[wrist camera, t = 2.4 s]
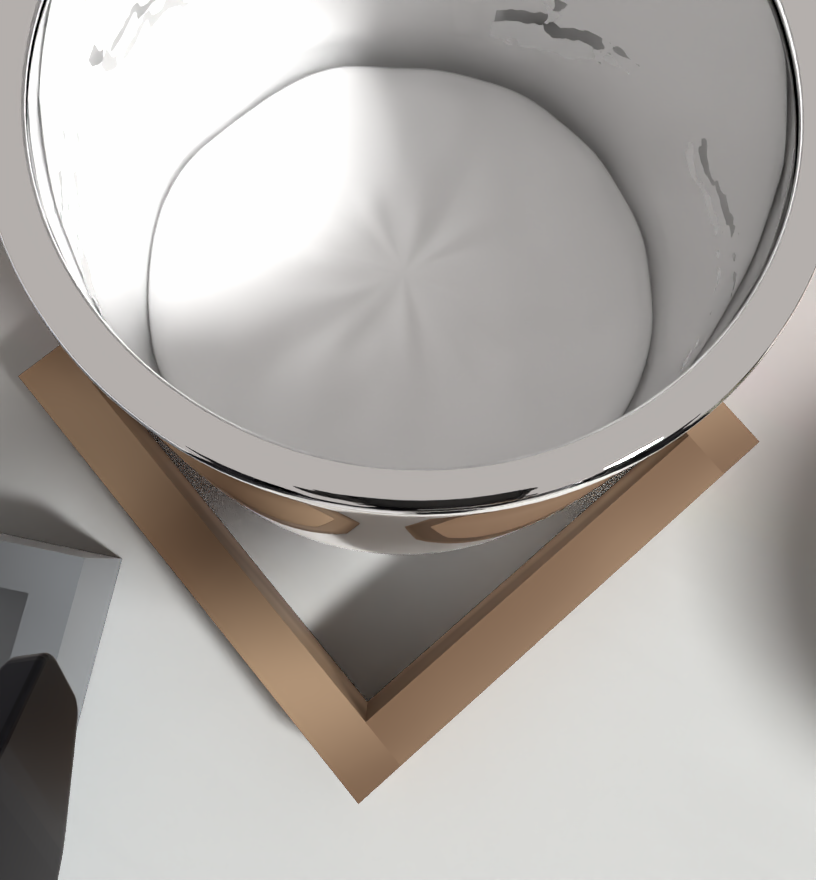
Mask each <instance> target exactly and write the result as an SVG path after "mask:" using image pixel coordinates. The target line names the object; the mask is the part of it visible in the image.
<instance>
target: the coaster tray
mask: <svg viewBox="0 0 816 880" xmlns="http://www.w3.org/2000/svg"><path fill="white" fill-rule="evenodd" d="M121 560H122V559H121V558H116V557H111V556H106V555H102V554H97V553H92V552H87V551H83V550H78V549H73V548H68V547H64V546H59V545H54V544H49V543H44V542H40V541H35V540H30V539H25V538H21V537H16V536H11V535H6V534H2V533H0V668H1V666H2V665H3V664H4V663H5V662H7V661H8V660H10V659H11V658H13V657H16V656H22V655H29V654H37V653H49V654H51V655H52V656H54V658H55V659H56V661H57V662H58V664H59V666H60V668H61V670H62V672H63V674H64V676H65V677H66V679H67V681H68V683H69V685H70V687H71V689H72V690H73V692H74V695H75V697H76V701H77V706H78V720H77V725H78V721H79V717H80V713H81V710H82V706H83V702H84V698H85V695H86V691H87V687H88V683H89V680H90V676H91V672H92V668H93V665H94V661H95V657H96V654H97V650H98V646H99V642H100V639H101V635H102V631H103V627H104V624H105V620H106V616H107V612H108V609H109V605H110V601H111V597H112V594H113V590H114V586H115V582H116V579H117V575H118V571H119V567H120V564H121Z"/></svg>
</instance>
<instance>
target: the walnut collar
mask: <svg viewBox="0 0 816 880" xmlns="http://www.w3.org/2000/svg"><path fill="white" fill-rule="evenodd" d="M18 377H19V378H20V379H21V380H22V382H23V383H24V384H25V385H26V387H27V388H28V389H29V390H30V392H31V393H32V394H33V395H34V397H35V398H36V399H37V400H38V402H39V403H40V404H41V405H42V407H43V408H44V409H45V411H46V412H47V413H48V414H49V416H50V417H51V418H52V419H53V421H54V422H55V423H56V424H57V426H58V427H59V428H60V429H61V431H62V432H63V433H64V434H65V436H66V437H67V438H68V439H69V441H70V442H71V443H72V444H73V446H74V447H75V448H76V449H77V451H78V452H79V453H80V455H81V456H82V457H83V458H84V460H85V461H86V462H87V463H88V465H89V466H90V467H91V468H92V470H93V471H94V472H95V473H96V475H97V476H98V477H99V478H100V480H101V481H102V482H103V483H104V485H105V486H106V487H107V488H108V490H109V491H110V492H111V493H112V495H113V496H114V497H115V499H116V500H117V501H118V502H119V504H120V505H121V506H122V507H123V509H124V510H125V511H126V512H127V514H128V515H129V516H130V517H131V519H132V520H133V521H134V522H135V524H136V525H137V526H138V527H139V529H140V530H141V531H142V532H143V534H144V535H145V536H146V537H147V539H148V540H149V541H150V543H151V544H152V545H153V546H154V548H155V549H156V550H157V551H158V553H159V554H160V555H161V556H162V558H163V559H164V560H165V561H166V563H167V564H168V565H169V566H170V568H171V569H172V570H173V571H174V573H175V574H176V575H177V576H178V578H179V579H180V580H181V581H182V583H183V584H184V585H185V587H186V588H187V589H188V590H189V592H190V593H191V594H192V595H193V597H194V598H195V599H196V600H197V602H198V603H199V604H200V605H201V607H202V608H203V609H204V610H205V612H206V613H207V614H208V615H209V617H210V618H211V619H212V620H213V622H214V623H215V624H216V625H217V627H218V628H219V629H220V631H221V632H222V633H223V634H224V636H225V637H226V638H227V639H228V641H229V642H230V643H231V644H232V646H233V647H234V648H235V649H236V651H237V652H238V653H239V654H240V656H241V657H242V658H243V659H244V661H245V662H246V663H247V664H248V666H249V667H250V668H251V670H252V671H253V672H254V673H255V675H256V676H257V677H258V678H259V680H260V681H261V682H262V683H263V685H264V686H265V687H266V688H267V690H268V691H269V692H270V693H271V695H272V696H273V697H274V698H275V700H276V701H277V702H278V703H279V705H280V706H281V707H282V708H283V710H284V711H285V712H286V714H287V715H288V716H289V717H290V719H291V720H292V721H293V722H294V724H295V725H296V726H297V727H298V729H299V730H300V731H301V732H302V734H303V735H304V736H305V737H306V739H307V740H308V741H309V742H310V744H311V745H312V746H313V747H314V749H315V750H316V751H317V752H318V754H319V755H320V756H321V758H322V759H323V760H324V761H325V763H326V764H327V765H328V766H329V768H330V769H331V770H332V771H333V773H334V774H335V775H336V776H337V778H338V779H339V780H340V781H341V783H342V784H343V785H344V786H345V788H346V789H347V790H348V791H349V793H350V794H351V795H352V796H353V798H354V799H355V800H356V802H357V803H358V804H359V803H360V802H361V801H362V800H363V799H364V798H365V797H367V796H368V795H369V794H370V793H371V792H372V791H373V790H374V789H375V788H377V787H378V786H379V785H380V784H381V783H382V782H383V781H384V780H385V779H387V778H388V777H389V776H390V775H391V774H392V773H393V772H394V771H395V770H396V769H398V768H399V767H400V766H401V765H402V764H403V763H404V762H405V761H406V760H408V759H409V758H410V757H411V756H412V755H413V754H414V753H415V752H416V751H418V750H419V749H420V748H421V747H422V746H423V745H424V744H425V743H426V742H427V741H429V740H430V739H431V738H432V737H433V736H434V735H435V734H436V733H437V732H439V731H440V730H441V729H442V728H443V727H444V726H445V725H446V724H447V723H449V722H450V721H451V720H452V719H453V718H454V717H455V716H456V715H457V714H459V713H460V712H461V711H462V710H463V709H464V708H465V707H466V706H467V705H468V704H470V703H471V702H472V701H473V700H474V699H475V698H476V697H477V696H478V695H480V694H481V693H482V692H483V691H484V690H485V689H486V688H487V687H488V686H490V685H491V684H492V683H493V682H494V681H495V680H496V679H497V678H498V677H499V676H501V675H502V674H503V673H504V672H505V671H506V670H507V669H508V668H509V667H511V666H512V665H513V664H514V663H515V662H516V661H517V660H518V659H519V658H521V657H522V656H523V655H524V654H525V653H526V652H527V651H528V650H529V649H530V648H532V647H533V646H534V645H535V644H536V643H537V642H538V641H539V640H540V639H542V638H543V637H544V636H545V635H546V634H547V633H548V632H549V631H550V630H552V629H553V628H554V627H555V626H556V625H557V624H558V623H559V622H560V621H561V620H563V619H564V618H565V617H566V616H567V615H568V614H569V613H570V612H571V611H573V610H574V609H575V608H576V607H577V606H578V605H579V604H580V603H581V602H583V601H584V600H585V599H586V598H587V597H588V596H589V595H590V594H591V593H592V592H594V591H595V590H596V589H597V588H598V587H599V586H600V585H601V584H602V583H604V582H605V581H606V580H607V579H608V578H609V577H610V576H611V575H612V574H614V573H615V572H616V571H617V570H618V569H619V568H620V567H621V566H622V565H623V564H625V563H626V562H627V561H628V560H629V559H630V558H631V557H632V556H633V555H635V554H636V553H637V552H638V551H639V550H640V549H641V548H642V547H643V546H645V545H646V544H647V543H648V542H649V541H650V540H651V539H652V538H653V537H654V536H656V535H657V534H658V533H659V532H660V531H661V530H662V529H663V528H664V527H666V526H667V525H668V524H669V523H670V522H671V521H672V520H673V519H674V518H676V517H677V516H678V515H679V514H680V513H681V512H682V511H683V510H684V509H685V508H687V507H688V506H689V505H690V504H691V503H692V502H693V501H694V500H695V499H697V498H698V497H699V496H700V495H701V494H702V493H703V492H704V491H705V490H707V489H708V488H709V487H710V486H711V485H712V484H713V483H714V482H715V481H716V480H718V479H719V478H720V477H721V476H722V475H723V474H724V473H725V472H726V471H728V470H729V469H730V468H731V467H732V466H733V465H734V464H735V463H736V462H738V461H739V460H740V459H741V458H742V457H743V456H744V455H745V454H746V453H747V452H749V451H750V450H751V449H752V448H753V447H754V446H755V445H756V444H757V443H759V441H758V440H757V439H756V438H755V436H754V435H753V434H752V433H751V432H750V431H749V430H748V429H747V428H746V427H745V425H744V424H743V423H742V422H741V421H740V420H739V419H738V418H737V417H736V416H735V415H734V413H733V412H732V411H731V410H730V409H729V408H728V407H727V406H726V405H725V404H724V403H723V402H722V403H721V404H720V405H719V406H718V407H717V408H716V409H714V410H713V411H712V412H711V413H710V414H709V415H707V416H706V417H705V418H704V419H702V420H701V421H700V422H699V423H698V424H696V425H695V426H694V427H692V428H691V429H690V430H688V431H687V432H686V433H684V434H683V435H682V436H680V437H679V438H678V439H676V440H674V441H673V442H671V443H670V444H668V445H667V446H665V447H664V448H662V449H661V450H659V451H658V452H656V453H654V454H652V455H651V456H649V457H647V458H645V459H644V460H642V461H640V462H639V463H638V464H637V465H636V466H634V467H633V468H632V469H631V470H630V471H629V472H628V473H627V474H625V475H624V476H623V477H622V478H621V479H620V480H619V481H617V482H616V483H615V484H614V485H613V486H612V487H611V488H610V489H608V490H607V491H606V492H605V493H604V494H603V495H602V496H600V497H599V498H598V499H597V500H596V501H595V502H594V503H593V504H591V505H590V506H589V507H588V508H587V509H586V510H585V511H583V512H582V513H581V514H580V515H579V516H578V517H577V518H576V519H574V520H573V521H572V522H571V523H570V524H569V525H568V526H566V527H565V528H564V529H563V530H562V531H561V532H560V533H559V534H557V535H556V536H555V537H554V538H553V539H552V540H551V541H549V542H548V543H547V544H546V545H545V546H544V547H543V548H542V549H540V550H539V551H538V552H537V553H536V554H535V555H534V556H532V557H531V558H530V559H529V560H528V561H527V562H526V563H525V564H523V565H522V566H521V567H520V568H519V569H518V570H517V571H515V572H514V573H513V574H512V575H511V576H510V577H509V578H508V579H506V580H505V581H504V582H503V583H502V584H501V585H500V586H498V587H497V588H496V589H495V590H494V591H493V592H492V593H491V594H489V595H488V596H487V597H486V598H485V599H484V600H483V601H481V602H480V603H479V604H478V605H477V606H476V607H475V608H474V609H472V610H471V611H470V612H469V613H468V614H467V615H466V616H464V617H463V618H462V619H461V620H460V621H459V622H458V623H457V624H455V625H454V626H453V627H452V628H451V629H450V630H449V631H447V632H446V633H445V634H444V635H443V636H442V637H441V638H440V639H438V640H437V641H436V642H435V643H434V644H433V645H432V646H430V647H429V648H428V649H427V650H426V651H425V652H424V653H423V654H421V655H420V656H419V657H418V658H417V659H416V660H415V661H413V662H412V663H411V664H410V665H409V666H408V667H407V668H406V669H404V670H403V671H402V672H401V673H400V674H399V675H398V676H396V677H395V678H394V679H393V680H392V681H391V682H390V683H389V684H387V685H386V686H385V687H384V688H383V689H382V690H381V691H379V692H378V693H377V694H376V695H375V696H374V697H373V698H371V699H370V700H369V701H368V702H367V701H366V700H365V699H364V697H363V696H362V695H361V694H360V692H359V691H358V690H357V689H356V688H355V686H354V685H353V684H352V683H351V681H350V680H349V679H348V678H347V676H346V675H345V674H344V673H343V671H342V670H341V669H340V668H339V667H338V665H337V664H336V663H335V662H334V660H333V659H332V658H331V657H330V655H329V654H328V653H327V652H326V650H325V649H324V648H323V647H322V646H321V644H320V643H319V642H318V641H317V639H316V638H315V637H314V636H313V634H312V633H311V632H310V631H309V630H308V628H307V627H306V626H305V625H304V623H303V622H302V621H301V620H300V618H299V617H298V616H297V615H296V613H295V612H294V611H293V610H292V609H291V607H290V606H289V605H288V604H287V602H286V601H285V600H284V599H283V597H282V596H281V595H280V594H279V592H278V591H277V590H276V589H275V588H274V586H273V585H272V584H271V583H270V581H269V580H268V579H267V578H266V576H265V575H264V574H263V573H262V571H261V570H260V569H259V568H258V567H257V565H256V564H255V563H254V562H253V560H252V559H251V558H250V557H249V555H248V554H247V553H246V552H245V551H244V549H243V548H242V547H241V546H240V544H239V543H238V542H237V541H236V539H235V538H234V537H233V536H232V534H231V533H230V532H229V531H228V530H227V528H226V527H225V526H224V525H223V523H222V522H221V521H220V520H219V518H218V517H217V516H216V515H215V513H214V512H213V511H212V510H211V509H210V507H209V506H208V505H207V504H206V502H205V501H204V500H203V499H202V497H201V496H200V495H199V494H198V492H197V491H196V490H195V489H194V488H193V486H192V485H191V484H190V483H189V481H188V480H187V479H186V478H185V476H184V475H183V474H182V473H181V472H180V470H179V469H178V468H177V467H176V465H175V464H174V463H173V462H172V460H171V459H170V458H169V457H168V455H167V454H166V453H165V452H164V451H163V449H162V448H161V447H160V446H159V444H158V443H157V442H156V441H155V439H154V438H153V437H152V436H151V434H150V433H149V432H148V431H147V430H146V428H145V427H144V426H143V425H141V424H140V423H139V422H138V421H136V420H135V419H134V418H133V417H131V416H130V415H129V414H128V413H126V412H125V411H124V410H123V409H122V408H120V407H119V406H118V405H117V404H116V403H115V402H114V401H112V400H111V399H110V398H109V397H108V396H107V395H106V394H105V393H104V392H103V391H102V390H101V389H100V388H99V387H98V386H97V385H96V384H94V383H93V382H92V381H91V380H90V378H89V377H88V376H87V375H86V374H85V373H84V372H83V371H82V370H81V369H80V368H79V367H78V366H77V365H76V363H75V362H74V361H73V360H72V359H71V357H70V356H69V355H68V354H67V353H66V351H65V350H64V349H63V348H62V346H61V345H59V346H58V347H57V348H55V349H54V350H53V351H51V352H50V353H49V354H47V355H46V356H45V357H43V358H42V359H41V360H39V361H38V362H37V363H35V364H34V365H33V366H31V367H30V368H29V369H27V370H26V371H25V372H23V373H22V374H21V375H19V376H18Z"/></svg>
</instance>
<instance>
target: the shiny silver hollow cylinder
mask: <svg viewBox="0 0 816 880" xmlns="http://www.w3.org/2000/svg"><path fill="white" fill-rule="evenodd" d="M0 238H1V241H2V243H3V246H4V248H5V251H6V253H7V256H8V258H9V260H10V262H11V264H12V267H13V269H14V271H15V273H16V275H17V277H18V279H19V281H20V283H21V285H22V287H23V289H24V291H25V292H26V294H27V296H28V297H29V299H30V301H31V302H32V304H33V306H34V308H35V309H36V311H37V312H38V314H39V315H40V317H41V318H42V320H43V321H44V323H45V324H46V326H47V327H48V329H49V330H50V332H51V333H52V334H53V336H54V337H55V338H56V340H57V341H58V342H59V344H60V345H61V346H62V348H63V349H64V350H65V351H66V353H67V354H68V355H69V356H70V357H71V359H72V360H73V361H74V362H75V363H76V365H77V366H78V367H79V368H80V369H81V370H82V371H83V372H84V373H85V374H86V375H87V376H88V377H89V378H90V380H91V381H92V382H93V383H94V384H96V385H97V386H98V387H99V388H100V389H101V390H102V391H103V392H104V393H105V394H106V395H107V396H108V397H109V398H110V399H111V400H112V401H114V402H115V403H116V404H117V405H118V406H119V407H120V408H122V409H123V410H124V411H125V412H126V413H128V414H129V415H130V416H131V417H133V418H134V419H135V420H136V421H138V422H139V423H140V424H141V425H143V426H144V427H146V428H147V429H148V430H150V431H151V432H153V433H154V434H155V435H157V436H158V437H159V438H160V439H161V440H162V441H163V442H164V443H165V444H166V445H167V446H168V447H169V448H170V449H171V450H172V451H173V452H175V453H176V454H177V455H178V456H179V457H180V458H181V459H182V460H183V461H184V462H186V463H187V464H188V465H189V466H190V467H191V468H192V469H193V470H194V471H196V472H197V473H198V474H199V475H200V476H201V477H203V478H204V479H205V480H207V481H208V482H209V483H210V484H212V485H213V486H214V487H216V488H217V489H218V490H220V491H221V492H223V493H224V494H225V495H227V496H228V497H230V498H232V499H233V500H235V501H236V502H238V503H239V504H241V505H243V506H244V507H246V508H247V509H249V510H251V511H252V512H254V513H255V514H257V515H259V516H261V517H262V518H264V519H266V520H268V521H270V522H272V523H273V524H275V525H277V526H279V527H281V528H284V529H286V530H288V531H290V532H293V533H295V534H298V535H300V536H303V537H306V538H308V539H311V540H314V541H317V542H320V543H324V544H327V545H331V546H335V547H339V548H344V549H348V550H354V551H360V552H368V553H376V554H389V555H415V554H429V553H439V552H447V551H452V550H458V549H463V548H467V547H471V546H475V545H479V544H482V543H486V542H489V541H492V540H495V539H498V538H501V537H503V536H506V535H508V534H511V533H513V532H516V531H518V530H520V529H523V528H525V527H528V526H530V525H532V524H534V523H537V522H539V521H541V520H543V519H545V518H547V517H549V516H551V515H553V514H555V513H557V512H559V511H561V510H563V509H564V508H566V507H568V506H569V505H571V504H573V503H574V502H576V501H577V500H579V499H580V498H582V497H584V496H585V495H587V494H588V493H590V492H591V491H593V490H594V489H596V488H597V487H599V486H600V485H602V484H603V483H605V482H606V481H608V480H609V479H611V478H612V477H614V476H615V475H616V474H618V473H619V472H621V471H623V470H625V469H627V468H629V467H631V466H633V465H635V464H636V463H638V462H640V461H642V460H644V459H645V458H647V457H649V456H651V455H652V454H654V453H656V452H658V451H659V450H661V449H662V448H664V447H665V446H667V445H668V444H670V443H671V442H673V441H674V440H676V439H678V438H679V437H680V436H682V435H683V434H684V433H686V432H687V431H688V430H690V429H691V428H692V427H694V426H695V425H696V424H698V423H699V422H700V421H701V420H702V419H704V418H705V417H706V416H707V415H709V414H710V413H711V412H712V411H713V410H714V409H716V408H717V407H718V406H719V405H720V404H721V403H722V402H723V401H724V400H725V399H727V398H728V397H729V396H730V395H731V394H732V393H733V392H734V391H735V389H736V388H737V387H738V386H739V385H740V384H741V383H742V382H743V381H744V380H745V379H746V378H747V377H748V376H749V375H750V373H751V372H752V371H753V370H754V369H755V368H756V367H757V365H758V364H759V363H760V362H761V360H762V359H763V358H764V357H765V355H766V354H767V353H768V351H769V350H770V349H771V347H772V346H773V345H774V343H775V342H776V340H777V339H778V338H779V336H780V335H781V333H782V332H783V330H784V329H785V327H786V326H787V324H788V323H789V321H790V319H791V318H792V316H793V315H794V313H795V311H796V309H797V308H798V306H799V304H800V302H801V300H802V299H803V297H804V295H805V293H806V291H807V289H808V286H809V284H810V282H811V280H812V278H813V276H814V274H815V271H816V0H0Z"/></svg>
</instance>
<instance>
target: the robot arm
mask: <svg viewBox="0 0 816 880" xmlns="http://www.w3.org/2000/svg"><path fill="white" fill-rule="evenodd" d="M77 720H78V706H77V701H76V697H75V695H74V692H73V690H72V689H71V687H70V685H69V683H68V681H67V679H66V677H65V676H64V674H63V672H62V670H61V668H60V666H59V664H58V662H57V661H56V659H55V658H54V656H52V655H51V654H49V653H37V654H29V655H22V656H16V657H13V658H11V659H10V660H8V661H7V662H5V663H4V664H3V665H2V666H1V668H0V880H58V875H59V870H60V865H61V860H62V854H63V847H64V840H65V832H66V823H67V814H68V804H69V795H70V786H71V776H72V767H73V757H74V748H75V739H76V729H77Z"/></svg>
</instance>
